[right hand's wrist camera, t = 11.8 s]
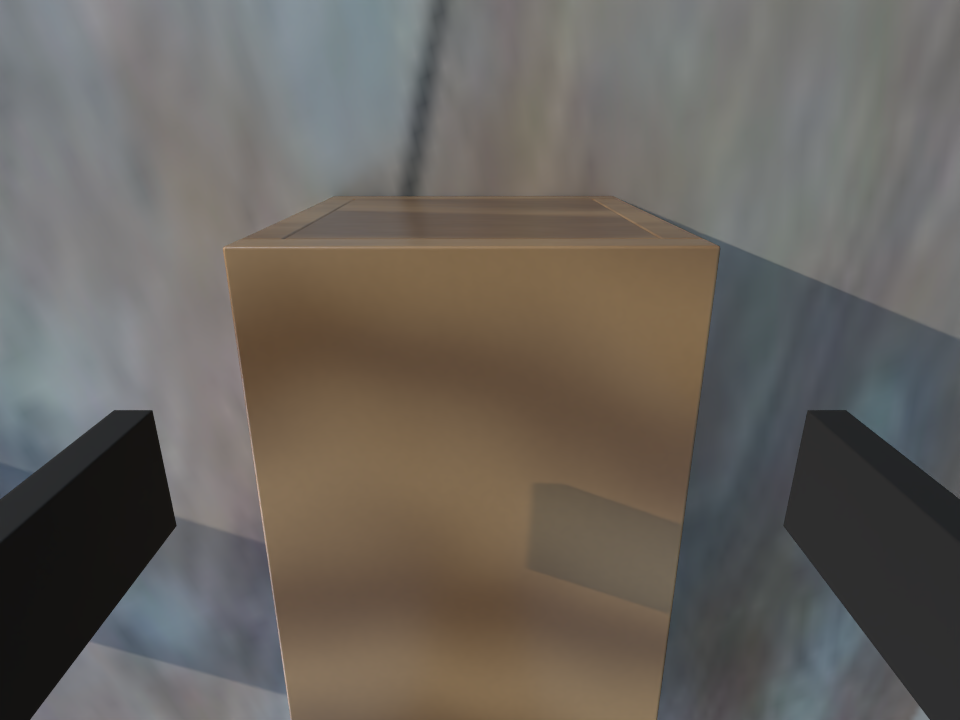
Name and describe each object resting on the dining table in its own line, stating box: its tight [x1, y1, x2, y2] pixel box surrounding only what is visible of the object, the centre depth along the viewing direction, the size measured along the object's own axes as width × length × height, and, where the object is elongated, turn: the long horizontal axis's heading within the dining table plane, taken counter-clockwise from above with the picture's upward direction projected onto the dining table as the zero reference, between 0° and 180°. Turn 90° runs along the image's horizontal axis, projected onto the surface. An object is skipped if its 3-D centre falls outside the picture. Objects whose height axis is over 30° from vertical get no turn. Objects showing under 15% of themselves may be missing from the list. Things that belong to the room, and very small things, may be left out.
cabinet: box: [223, 196, 720, 720], centre depth 23 cm, size 21×11×11 cm, turn 0°
